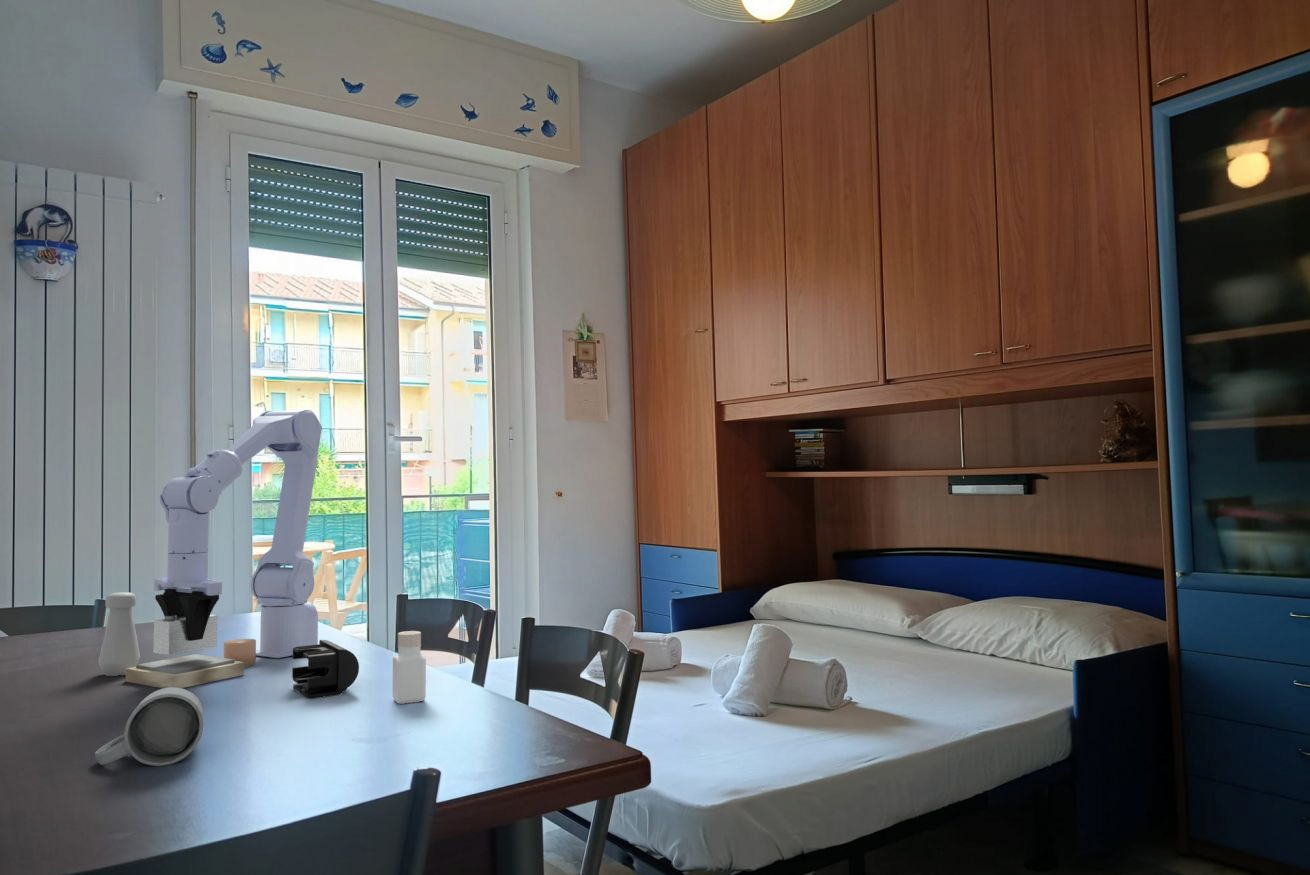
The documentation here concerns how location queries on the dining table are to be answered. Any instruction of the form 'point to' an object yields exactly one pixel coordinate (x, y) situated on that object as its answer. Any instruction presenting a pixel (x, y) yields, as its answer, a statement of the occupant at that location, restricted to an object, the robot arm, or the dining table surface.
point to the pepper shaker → (409, 669)
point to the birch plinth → (184, 671)
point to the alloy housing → (181, 635)
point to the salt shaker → (119, 636)
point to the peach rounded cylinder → (241, 651)
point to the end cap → (324, 670)
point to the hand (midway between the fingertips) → (186, 638)
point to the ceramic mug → (159, 729)
